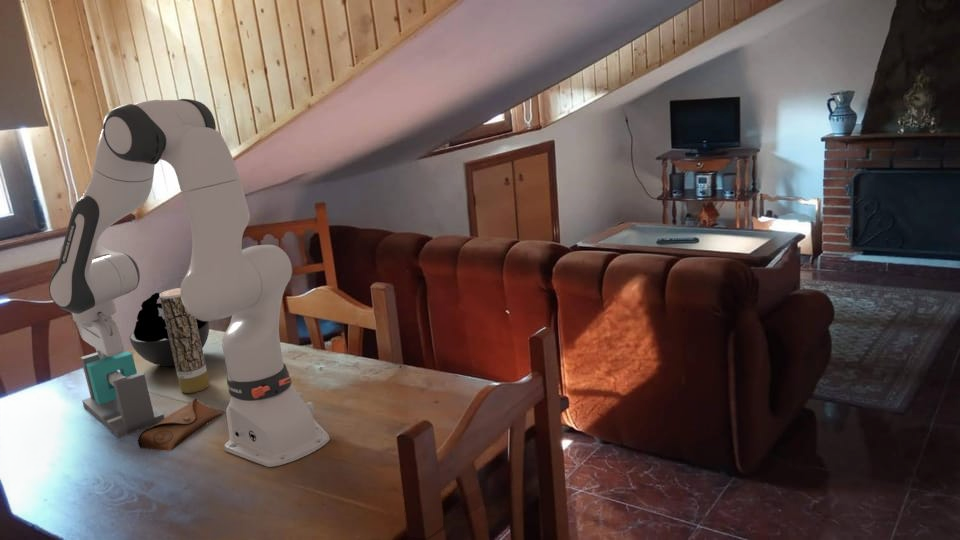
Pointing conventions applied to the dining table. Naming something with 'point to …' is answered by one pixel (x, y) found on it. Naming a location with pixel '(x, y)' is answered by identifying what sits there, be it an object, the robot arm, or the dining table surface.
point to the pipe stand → (123, 402)
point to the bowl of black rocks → (157, 334)
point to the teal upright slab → (106, 365)
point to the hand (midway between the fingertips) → (107, 365)
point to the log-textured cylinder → (184, 343)
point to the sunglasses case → (177, 427)
